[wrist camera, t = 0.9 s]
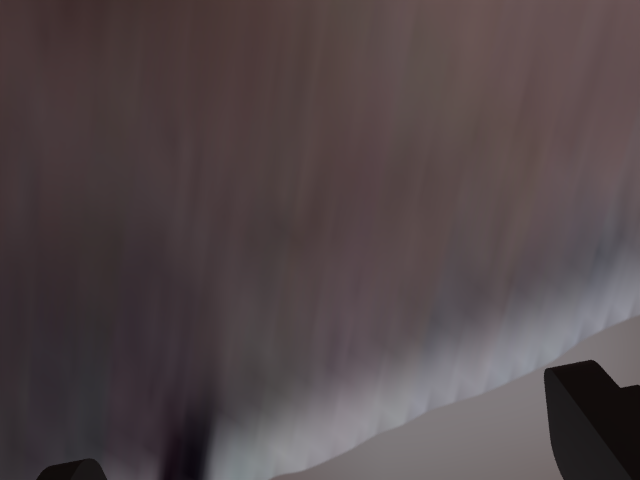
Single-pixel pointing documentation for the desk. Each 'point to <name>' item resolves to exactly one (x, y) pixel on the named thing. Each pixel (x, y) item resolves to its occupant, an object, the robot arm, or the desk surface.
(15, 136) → the desk surface
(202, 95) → the desk surface
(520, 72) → the desk surface
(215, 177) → the desk surface
